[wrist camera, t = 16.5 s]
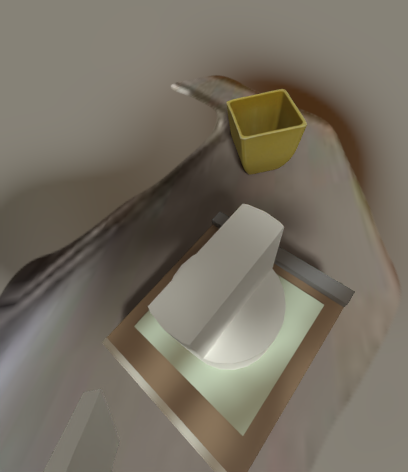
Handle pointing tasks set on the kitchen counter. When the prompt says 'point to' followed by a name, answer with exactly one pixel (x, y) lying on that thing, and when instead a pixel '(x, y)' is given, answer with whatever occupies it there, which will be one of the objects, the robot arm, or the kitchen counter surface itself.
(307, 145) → the kitchen counter surface
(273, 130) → the flower pot
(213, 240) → the cylinder with rectangular tab
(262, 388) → the dock
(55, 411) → the kitchen counter surface
